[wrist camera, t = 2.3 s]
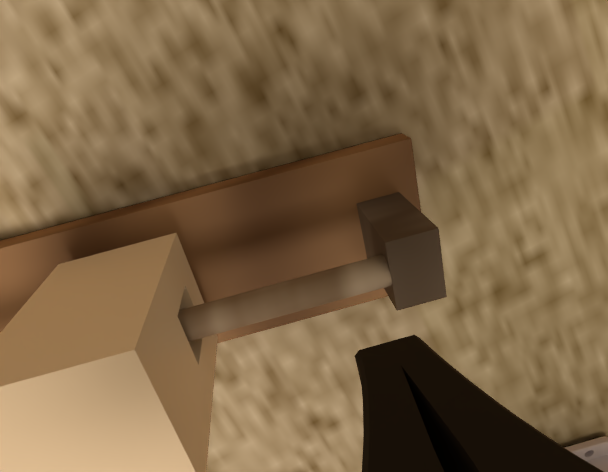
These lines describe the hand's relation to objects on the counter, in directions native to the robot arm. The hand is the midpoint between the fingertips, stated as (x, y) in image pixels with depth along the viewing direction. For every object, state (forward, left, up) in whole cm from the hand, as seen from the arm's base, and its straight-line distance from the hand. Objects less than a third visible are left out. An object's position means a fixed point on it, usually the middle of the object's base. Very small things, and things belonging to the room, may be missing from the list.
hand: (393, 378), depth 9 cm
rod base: (+8, 0, -9) cm, 12 cm away
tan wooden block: (+7, 0, -7) cm, 10 cm away
